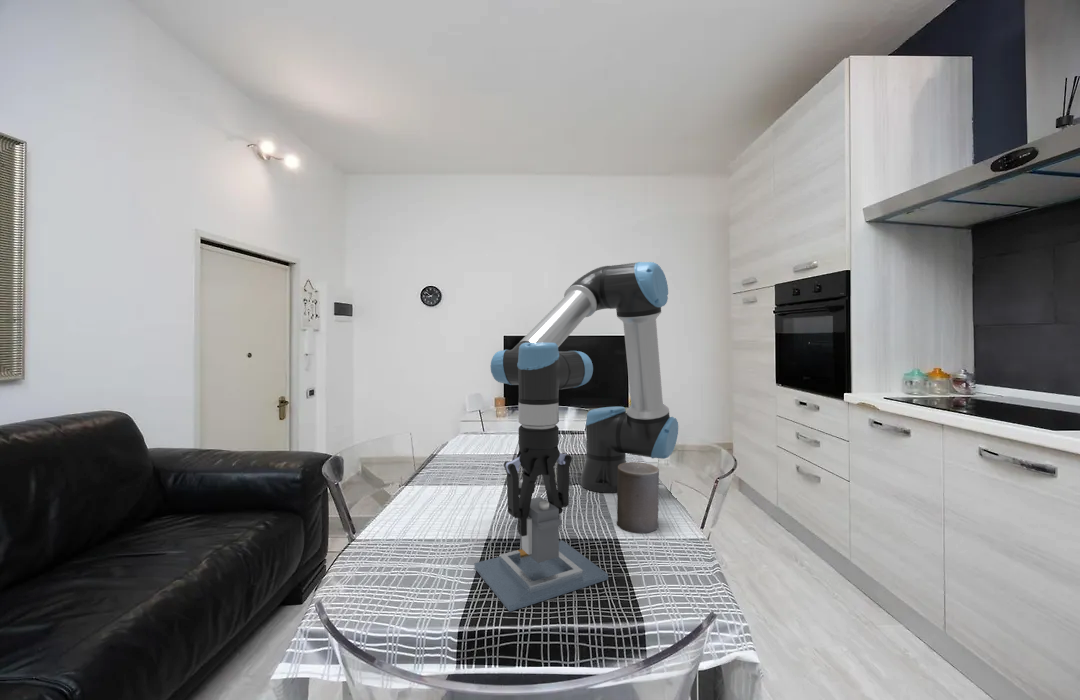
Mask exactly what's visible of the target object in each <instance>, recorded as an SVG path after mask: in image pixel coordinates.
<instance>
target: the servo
mask: <svg viewBox="0 0 1080 700" xmlns="http://www.w3.org/2000/svg"><path fill="white" fill-rule="evenodd" d="M528 516H529V517H530V518H531V519H532V554H530V556H531V557H532V558H533V559H534V560H535V561H536V562H537V563H539V562H543V561H546V560H550V559H554V558H557V557H559V541H560V533H559V532H560V528H559V527H560V526H562V525H563V520H562V519H560V514H559V509H558V508H557V507H555V506H554V505H552V504H551V503H549V502H548V500H546V499H544V498H542V497H541V496H537V497H534V498H532V499H531V504H530V509H529V514H528ZM519 535H520V534H519ZM519 542H520V546H519V547H520V549H522V536H521V535H520V540H519Z"/></svg>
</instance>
